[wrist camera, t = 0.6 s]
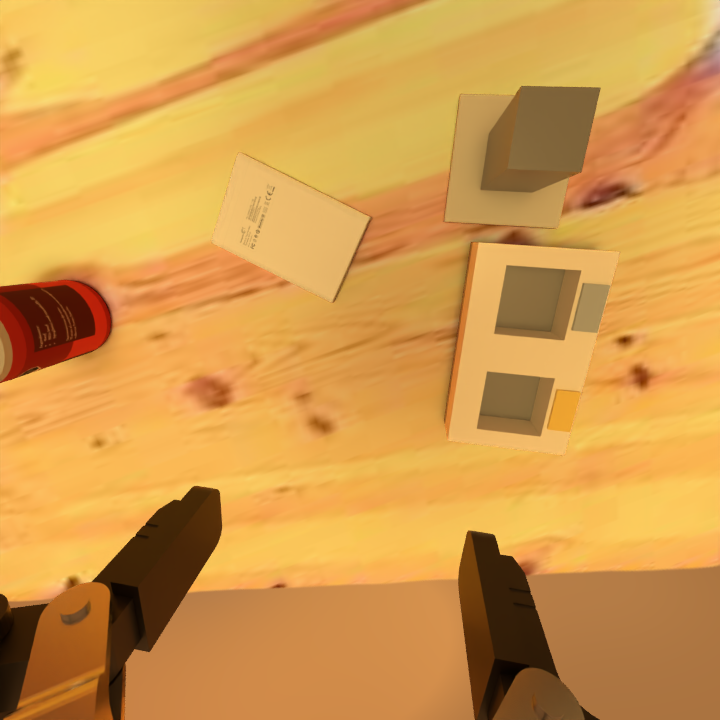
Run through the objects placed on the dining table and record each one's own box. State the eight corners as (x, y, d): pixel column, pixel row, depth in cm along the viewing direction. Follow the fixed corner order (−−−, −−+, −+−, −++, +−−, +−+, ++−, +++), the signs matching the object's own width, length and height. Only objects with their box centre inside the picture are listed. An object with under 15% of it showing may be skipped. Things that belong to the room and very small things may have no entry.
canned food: (39, 327, 40) (-92, 357, 30) (57, 263, 37) (-79, 271, 27) (101, 365, 40) (-7, 407, 30) (123, 304, 38) (13, 327, 27)
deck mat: (459, 98, 28) (460, 94, 28) (582, 100, 27) (586, 96, 27) (443, 221, 31) (444, 221, 30) (554, 228, 30) (558, 228, 30)
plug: (489, 133, 28) (521, 86, 20) (543, 134, 28) (600, 87, 19) (480, 190, 29) (507, 168, 21) (532, 192, 29) (581, 172, 21)
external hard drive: (335, 301, 35) (218, 243, 35) (372, 217, 33) (245, 154, 32) (331, 303, 34) (209, 243, 34) (370, 216, 31) (237, 150, 31)
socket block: (470, 242, 31) (479, 242, 27) (594, 250, 30) (622, 251, 26) (444, 420, 37) (447, 442, 33) (548, 432, 36) (565, 457, 32)
